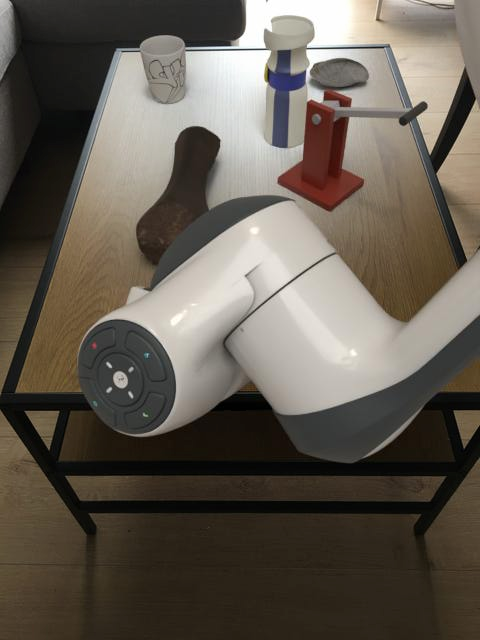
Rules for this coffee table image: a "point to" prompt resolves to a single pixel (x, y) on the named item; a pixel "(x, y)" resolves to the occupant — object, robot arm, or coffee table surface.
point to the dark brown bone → (179, 193)
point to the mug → (165, 67)
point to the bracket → (323, 157)
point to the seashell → (339, 72)
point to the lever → (377, 112)
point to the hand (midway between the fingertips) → (251, 331)
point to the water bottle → (287, 79)
